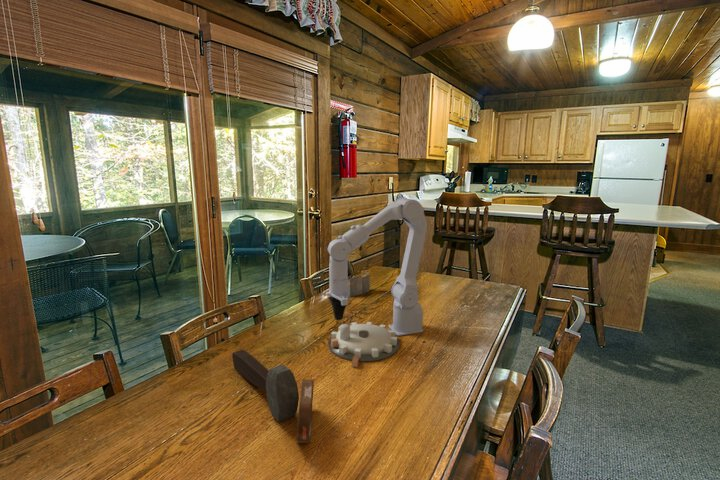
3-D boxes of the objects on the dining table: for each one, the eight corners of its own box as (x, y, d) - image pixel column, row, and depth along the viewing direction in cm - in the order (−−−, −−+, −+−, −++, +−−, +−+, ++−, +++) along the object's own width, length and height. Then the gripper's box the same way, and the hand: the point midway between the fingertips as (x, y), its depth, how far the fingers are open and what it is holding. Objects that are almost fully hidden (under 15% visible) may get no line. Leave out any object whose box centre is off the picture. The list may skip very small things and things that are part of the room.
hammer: (231, 381, 101) (280, 428, 78) (226, 341, 100) (275, 376, 77) (248, 375, 104) (300, 418, 81) (244, 336, 103) (296, 368, 79)
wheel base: (382, 324, 129) (383, 320, 128) (414, 357, 107) (414, 352, 107) (320, 333, 122) (320, 329, 121) (340, 370, 100) (340, 365, 100)
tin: (301, 404, 86) (300, 371, 84) (315, 403, 86) (314, 370, 84) (295, 453, 71) (294, 414, 69) (312, 452, 71) (311, 414, 70)
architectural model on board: (364, 290, 165) (365, 269, 163) (369, 292, 163) (369, 270, 161) (345, 296, 158) (345, 274, 156) (350, 298, 155) (350, 275, 153)
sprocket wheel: (381, 323, 128) (381, 307, 126) (408, 351, 109) (408, 332, 108) (323, 332, 121) (323, 315, 120) (341, 363, 102) (341, 343, 101)
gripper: (320, 272, 121) (321, 312, 124) (332, 286, 108) (332, 330, 110) (341, 271, 123) (341, 309, 126) (355, 284, 110) (354, 326, 113)
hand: (338, 319), depth 118 cm, fingers closed
